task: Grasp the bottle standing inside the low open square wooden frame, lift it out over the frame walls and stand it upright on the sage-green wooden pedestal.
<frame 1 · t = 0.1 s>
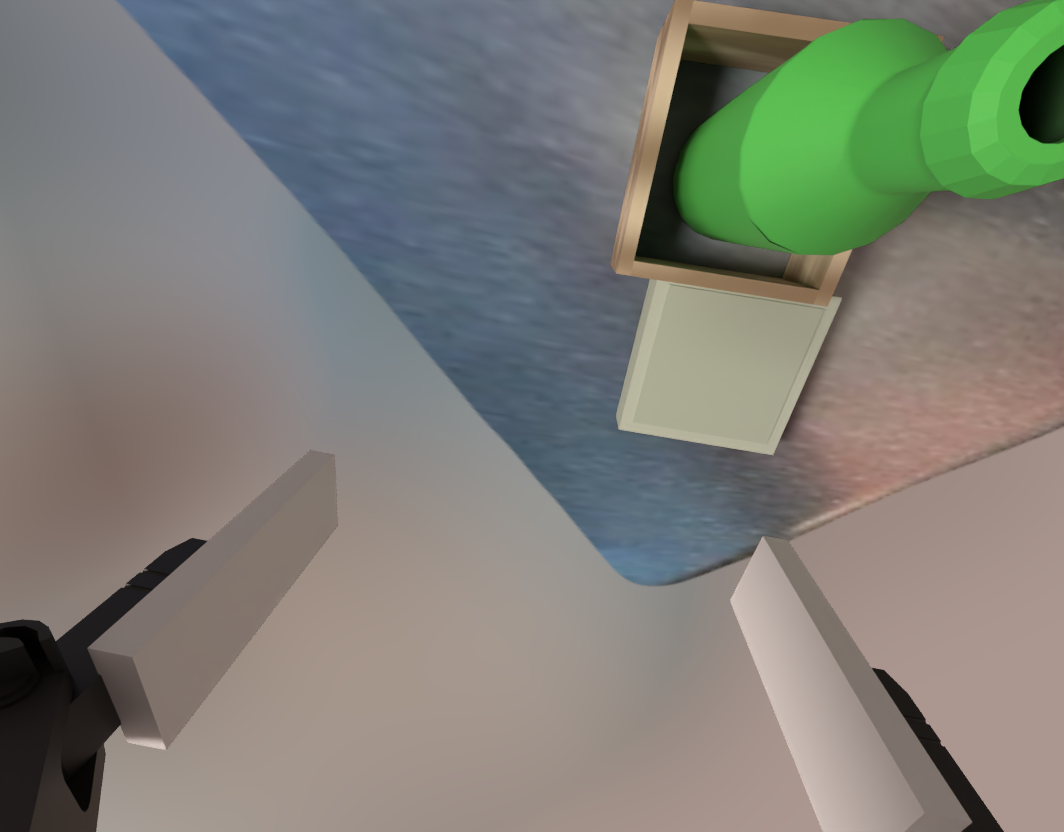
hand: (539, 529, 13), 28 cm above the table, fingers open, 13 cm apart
bottle: (728, 177, 33), resting in open square wooden frame
open square wooden frame: (729, 177, 33), on the table
stand block: (710, 358, 39), on the table
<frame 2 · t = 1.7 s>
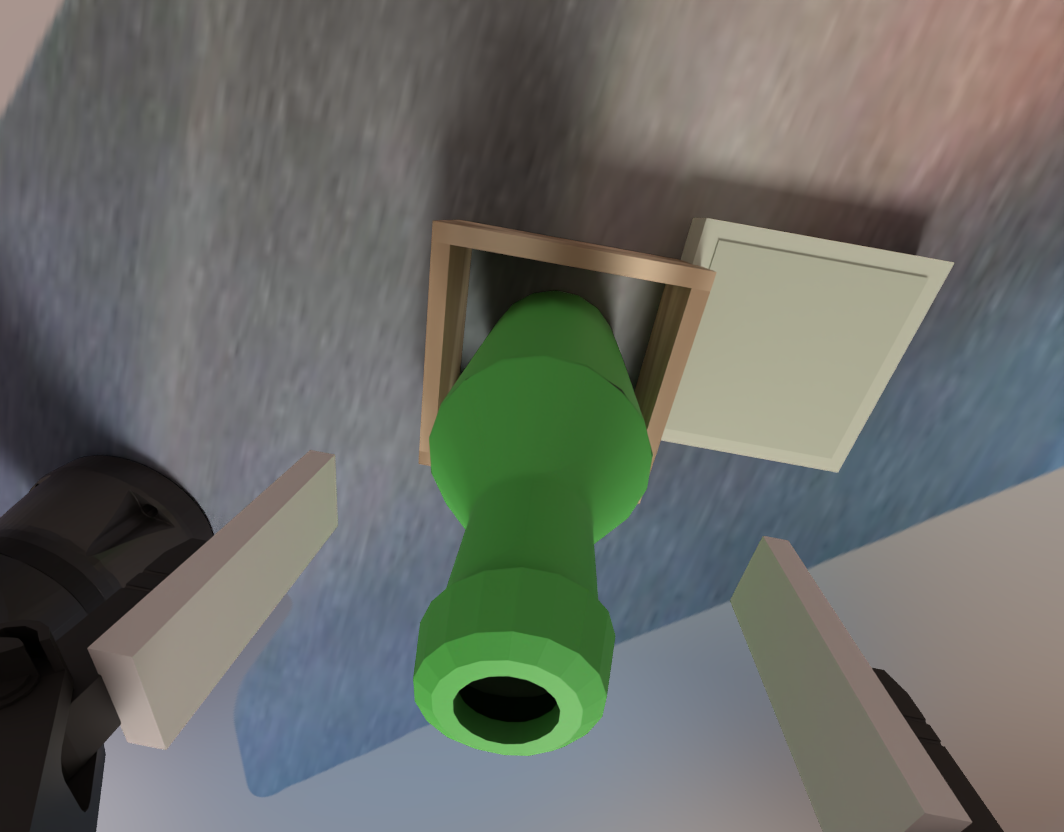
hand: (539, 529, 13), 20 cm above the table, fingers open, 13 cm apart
bottle: (552, 350, 31), resting in open square wooden frame
open square wooden frame: (552, 351, 31), on the table
stand block: (760, 346, 30), on the table
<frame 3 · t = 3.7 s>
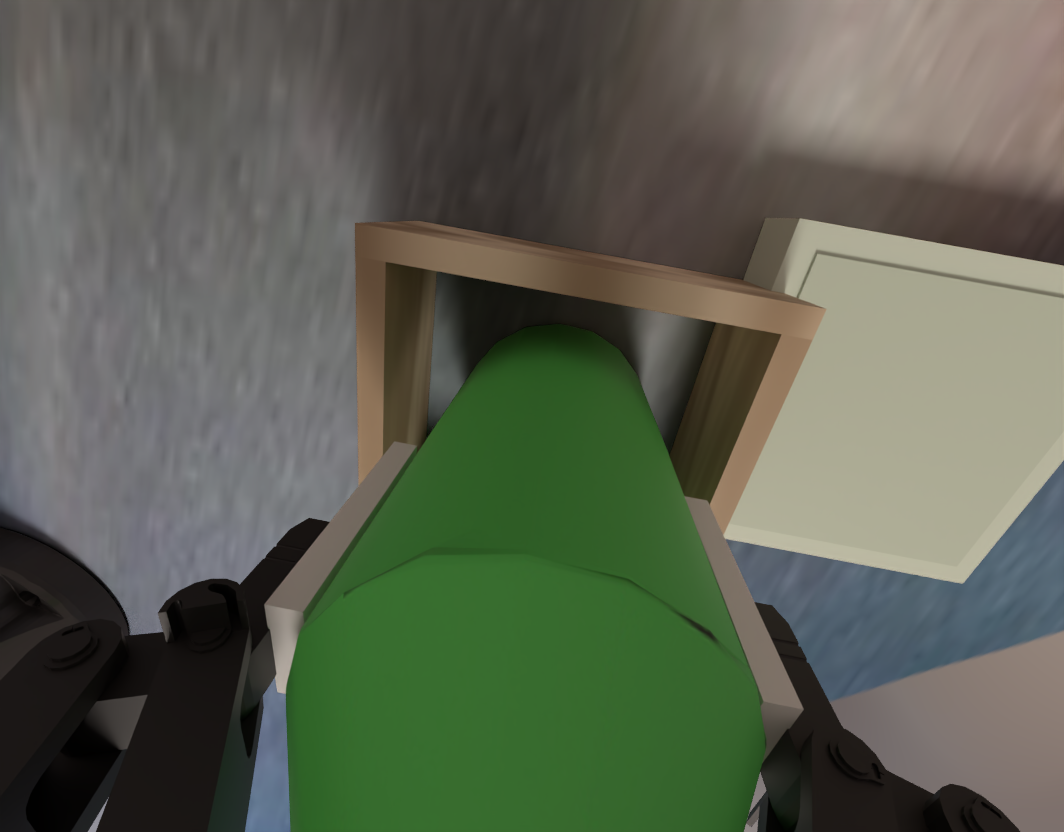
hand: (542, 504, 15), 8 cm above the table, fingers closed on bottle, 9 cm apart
bottle: (554, 403, 22), resting in open square wooden frame, touching gripper
open square wooden frame: (553, 405, 22), on the table
stand block: (852, 402, 21), on the table
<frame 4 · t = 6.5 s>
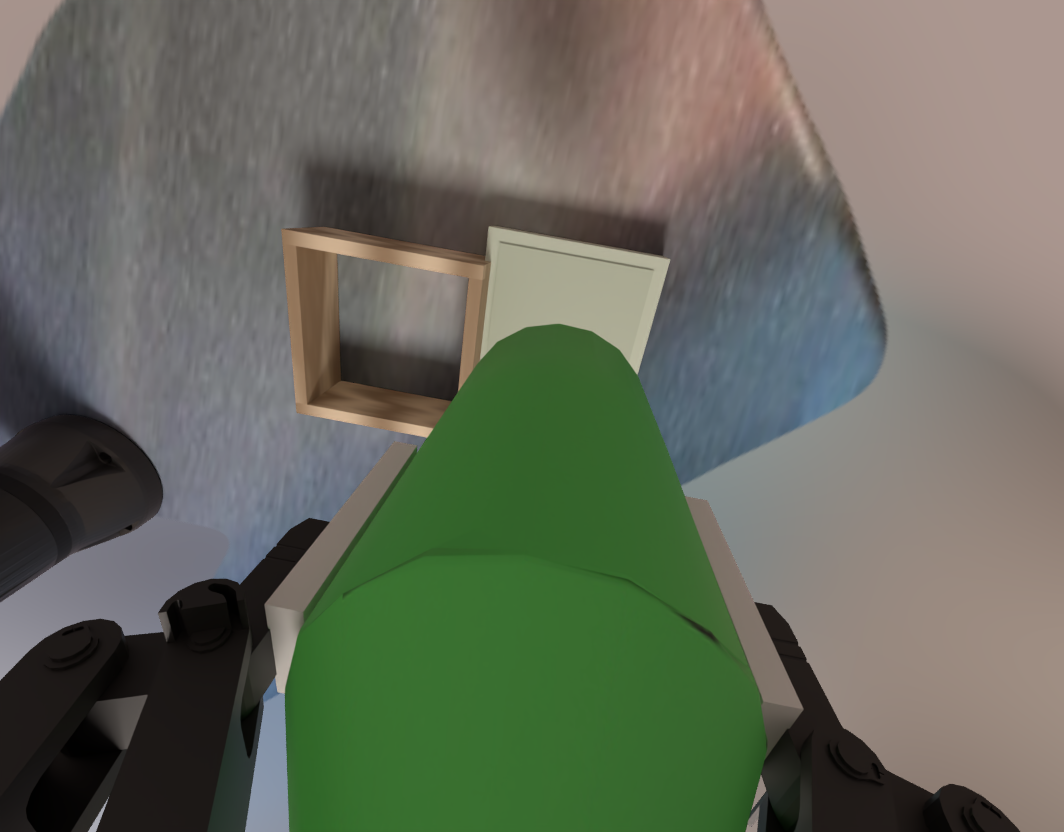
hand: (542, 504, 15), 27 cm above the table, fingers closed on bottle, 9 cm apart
bottle: (554, 403, 22), point 18 cm above the table, touching gripper
open square wooden frame: (407, 328, 40), on the table
stand block: (562, 324, 38), on the table
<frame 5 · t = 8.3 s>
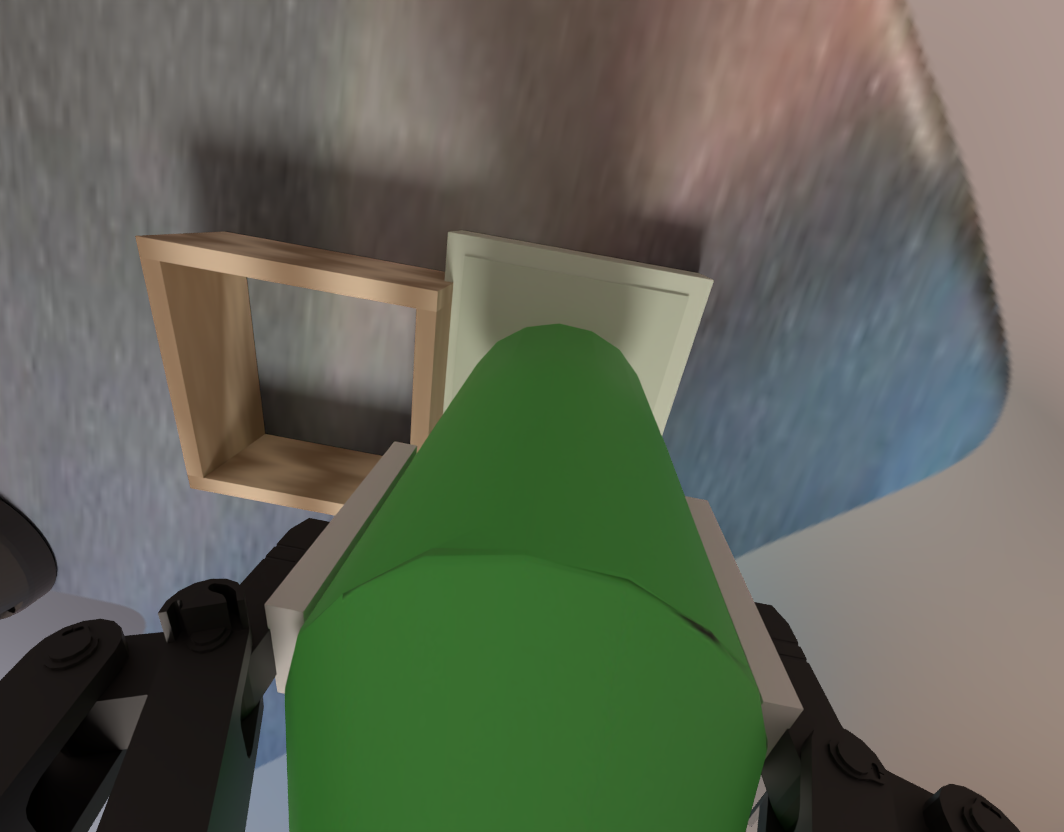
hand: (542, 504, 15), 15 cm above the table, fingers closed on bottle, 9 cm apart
bottle: (554, 403, 22), point 6 cm above the table, touching gripper
open square wooden frame: (348, 368, 30), on the table
stand block: (557, 364, 28), on the table
when the fingers open (13 cm above the table, at t = 9.6 s): bottle drops 2 cm, resting on stand block.
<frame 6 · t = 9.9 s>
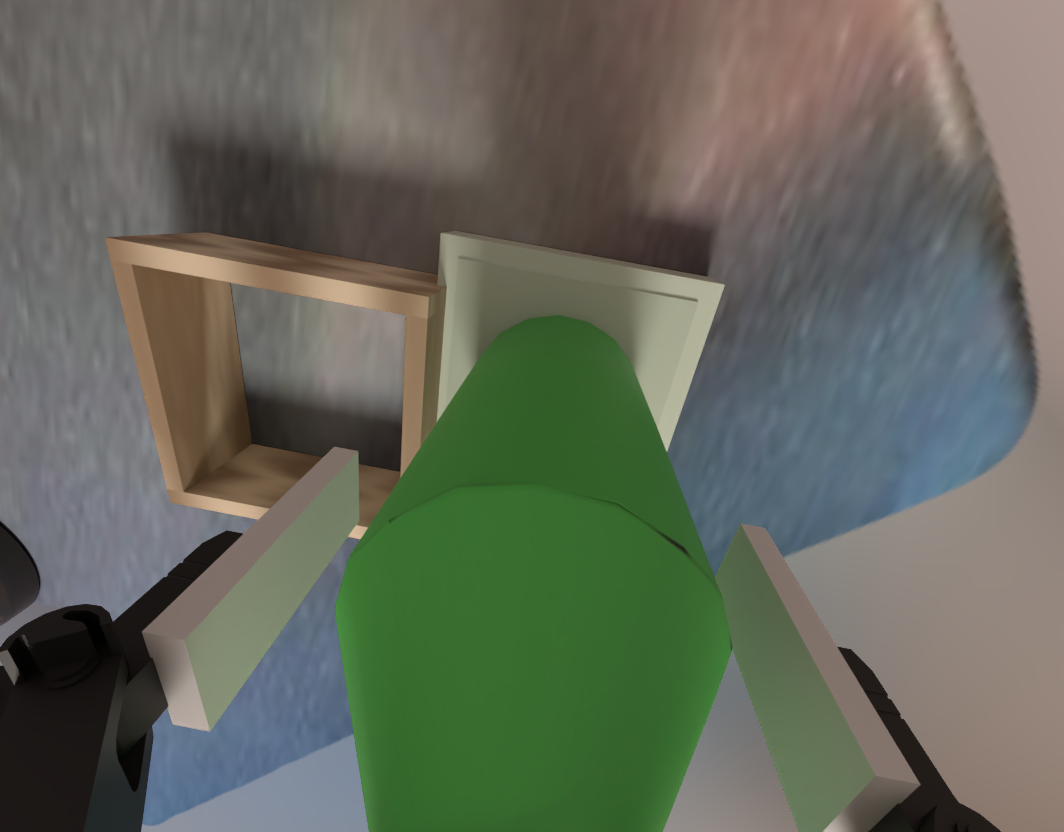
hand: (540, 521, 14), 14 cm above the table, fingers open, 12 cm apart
bottle: (554, 390, 24), point 3 cm above the table, touching stand block
open square wooden frame: (337, 376, 28), on the table
stand block: (557, 372, 27), on the table
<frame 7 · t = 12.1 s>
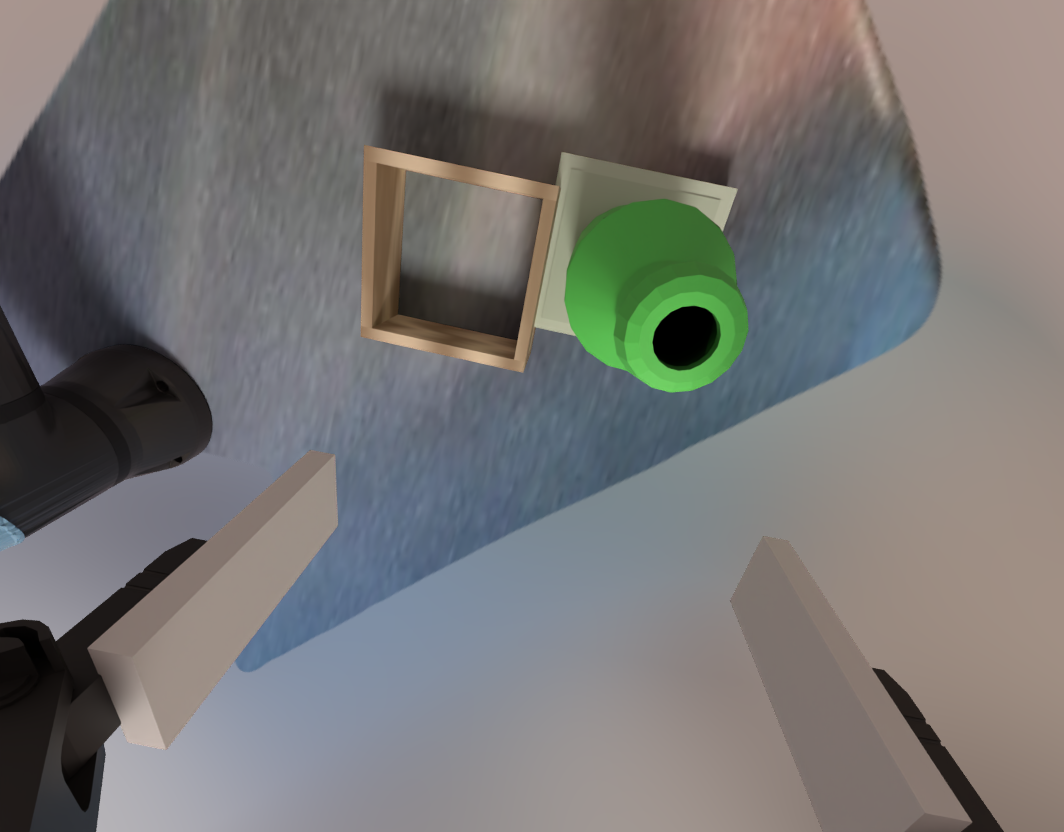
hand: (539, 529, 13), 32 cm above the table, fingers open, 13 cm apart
bottle: (623, 263, 37), point 3 cm above the table, touching stand block
open square wooden frame: (468, 261, 41), on the table
stand block: (621, 259, 39), on the table
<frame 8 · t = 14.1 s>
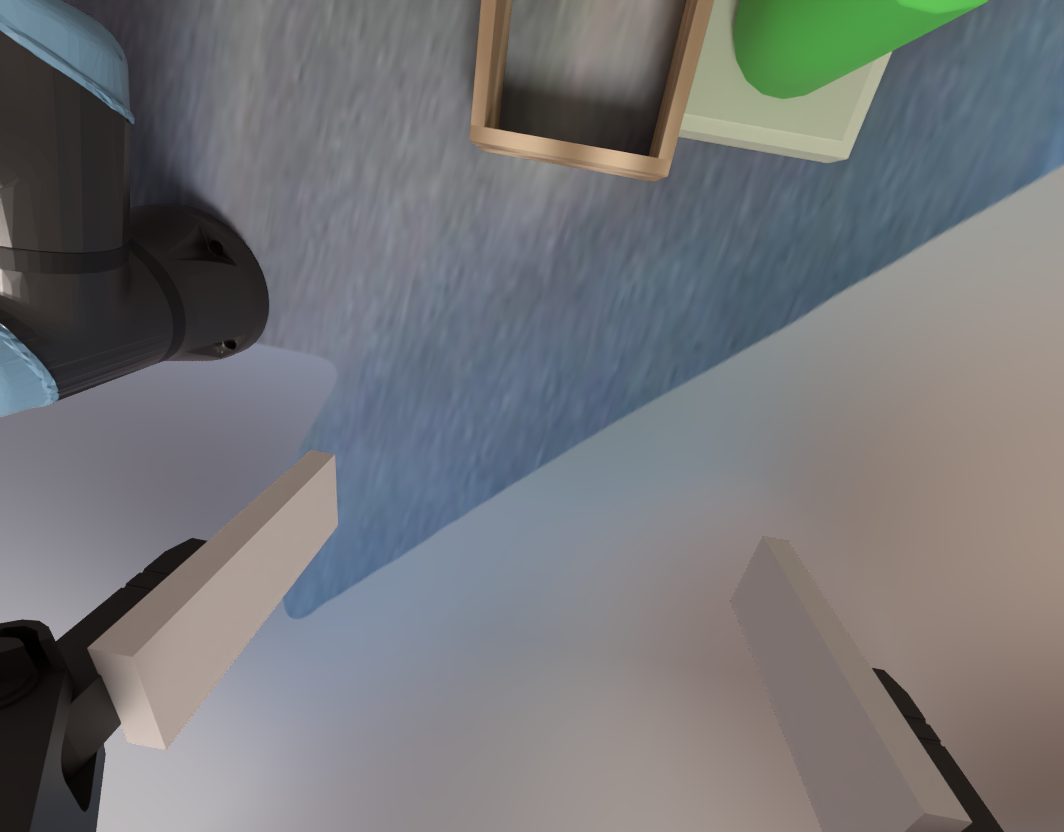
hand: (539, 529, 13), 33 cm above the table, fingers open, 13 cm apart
bottle: (794, 26, 30), point 3 cm above the table, touching stand block
open square wooden frame: (587, 59, 34), on the table
stand block: (777, 42, 33), on the table
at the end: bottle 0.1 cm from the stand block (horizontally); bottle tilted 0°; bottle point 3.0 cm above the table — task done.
